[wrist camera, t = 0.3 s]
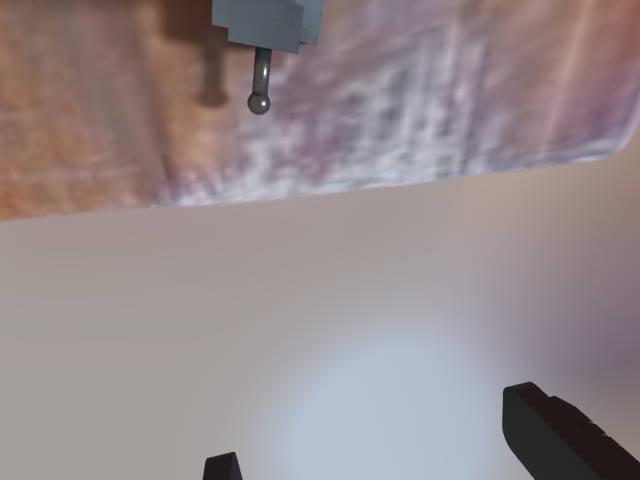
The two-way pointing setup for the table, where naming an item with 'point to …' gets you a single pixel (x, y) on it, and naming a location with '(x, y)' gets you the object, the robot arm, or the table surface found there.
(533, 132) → the table surface
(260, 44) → the vise
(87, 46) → the table surface
